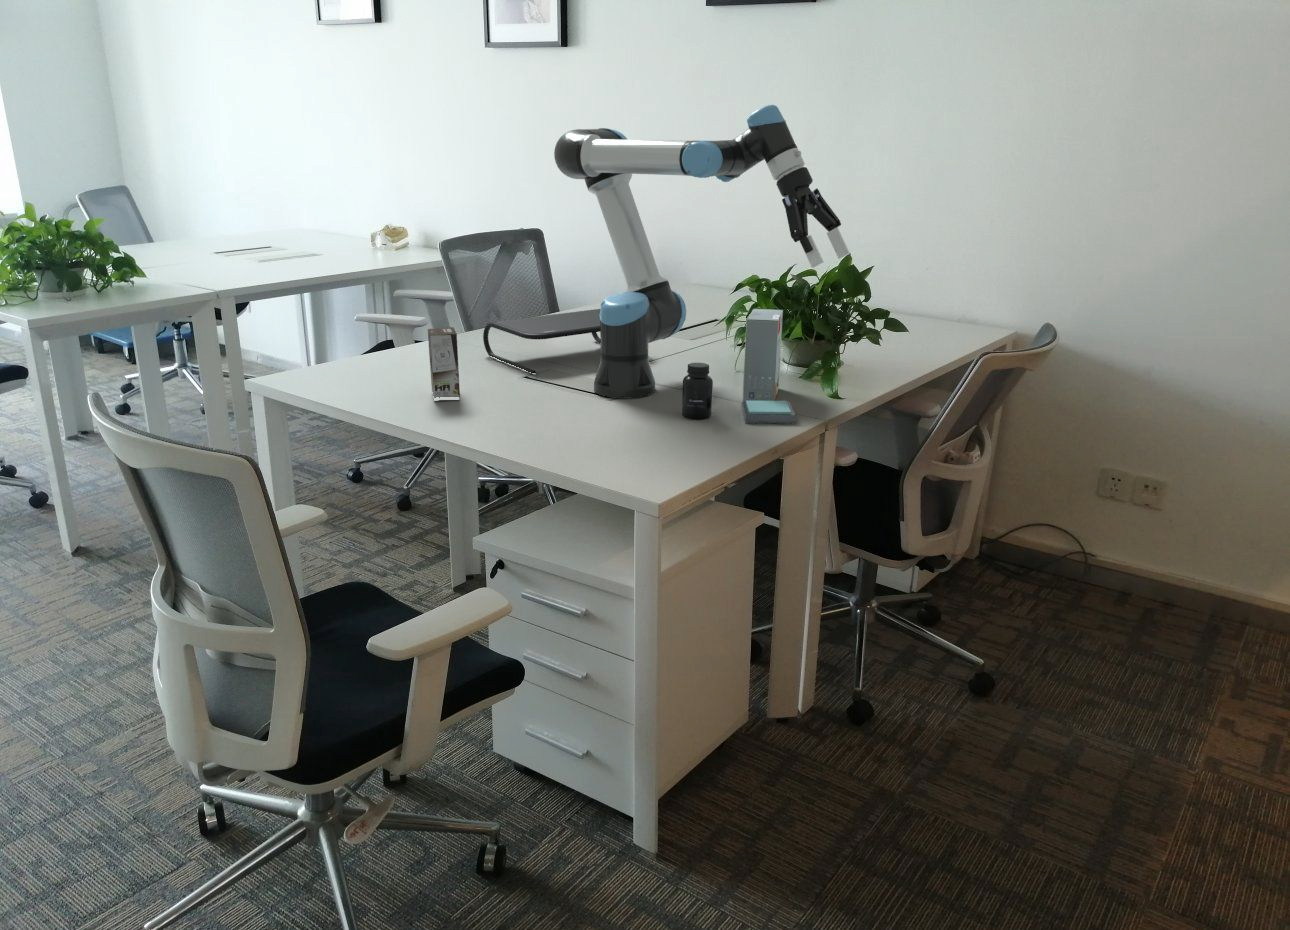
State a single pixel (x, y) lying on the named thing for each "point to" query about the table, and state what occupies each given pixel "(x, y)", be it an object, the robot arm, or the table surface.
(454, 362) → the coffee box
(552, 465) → the table surface
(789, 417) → the scale base
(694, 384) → the supplement bottle
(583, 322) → the monitor stand
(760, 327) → the hard drive box
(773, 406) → the scale plate
